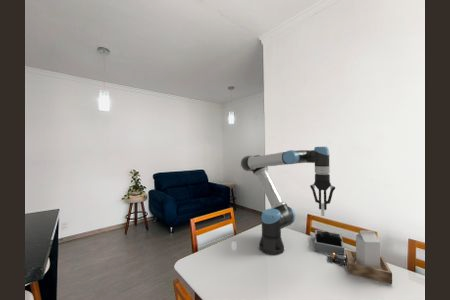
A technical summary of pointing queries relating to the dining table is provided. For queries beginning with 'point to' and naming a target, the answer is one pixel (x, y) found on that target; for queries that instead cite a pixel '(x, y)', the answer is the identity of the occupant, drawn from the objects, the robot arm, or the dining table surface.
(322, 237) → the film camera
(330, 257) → the pin mount
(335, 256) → the lock pin
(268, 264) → the dining table surface
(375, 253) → the milk carton
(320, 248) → the valet tray
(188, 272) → the dining table surface
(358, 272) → the wooden tray
